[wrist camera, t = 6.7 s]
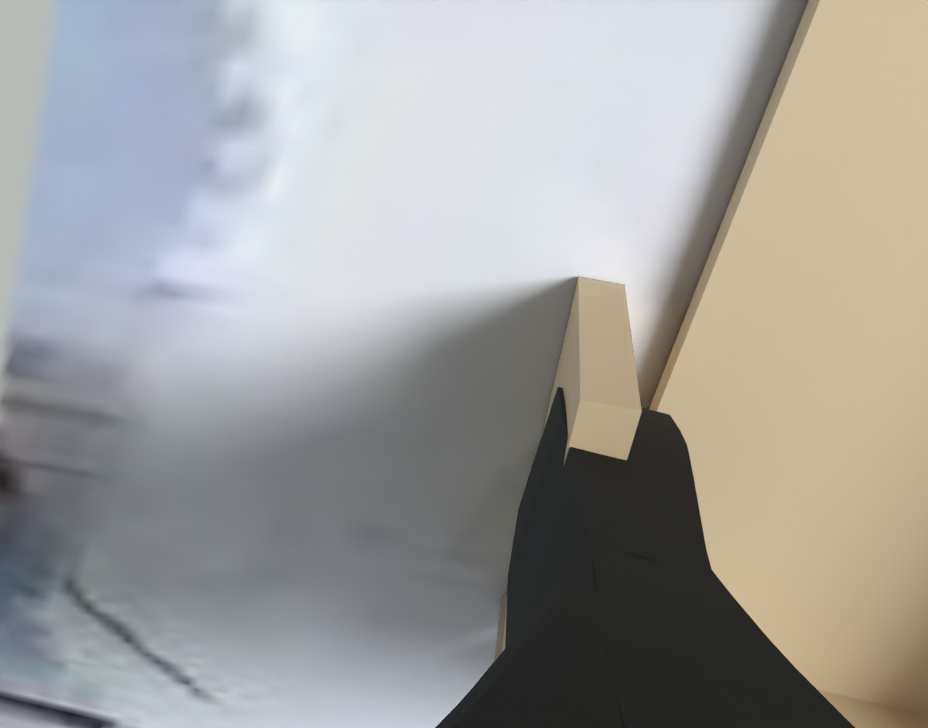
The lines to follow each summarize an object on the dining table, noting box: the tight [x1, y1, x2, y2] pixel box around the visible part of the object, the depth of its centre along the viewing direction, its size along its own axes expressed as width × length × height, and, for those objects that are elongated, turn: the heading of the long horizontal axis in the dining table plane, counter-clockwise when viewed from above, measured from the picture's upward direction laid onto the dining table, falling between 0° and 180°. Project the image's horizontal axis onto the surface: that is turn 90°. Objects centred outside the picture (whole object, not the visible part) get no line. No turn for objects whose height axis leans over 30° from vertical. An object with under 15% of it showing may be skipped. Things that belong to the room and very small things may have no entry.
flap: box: [495, 277, 642, 660], centre depth 10 cm, size 6×1×3 cm, turn 172°
